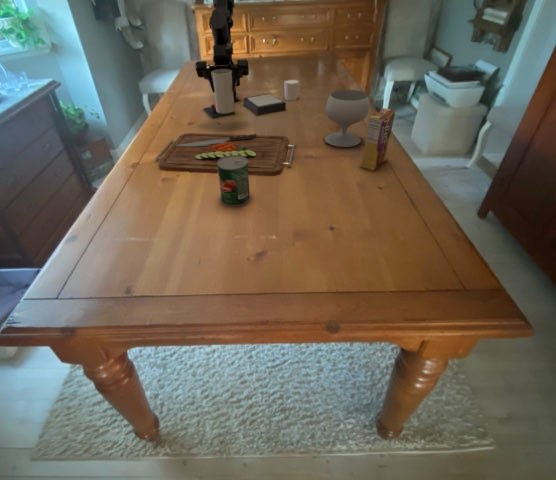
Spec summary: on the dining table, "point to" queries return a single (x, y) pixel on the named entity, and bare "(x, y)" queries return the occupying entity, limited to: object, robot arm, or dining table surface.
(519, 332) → the dining table surface
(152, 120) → the dining table surface
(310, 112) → the dining table surface
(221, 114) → the tare pad
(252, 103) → the scale
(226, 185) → the canned tomato
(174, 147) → the chopping board
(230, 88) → the beaker
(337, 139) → the chalice
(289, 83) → the shot glass
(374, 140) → the candy box
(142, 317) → the dining table surface
